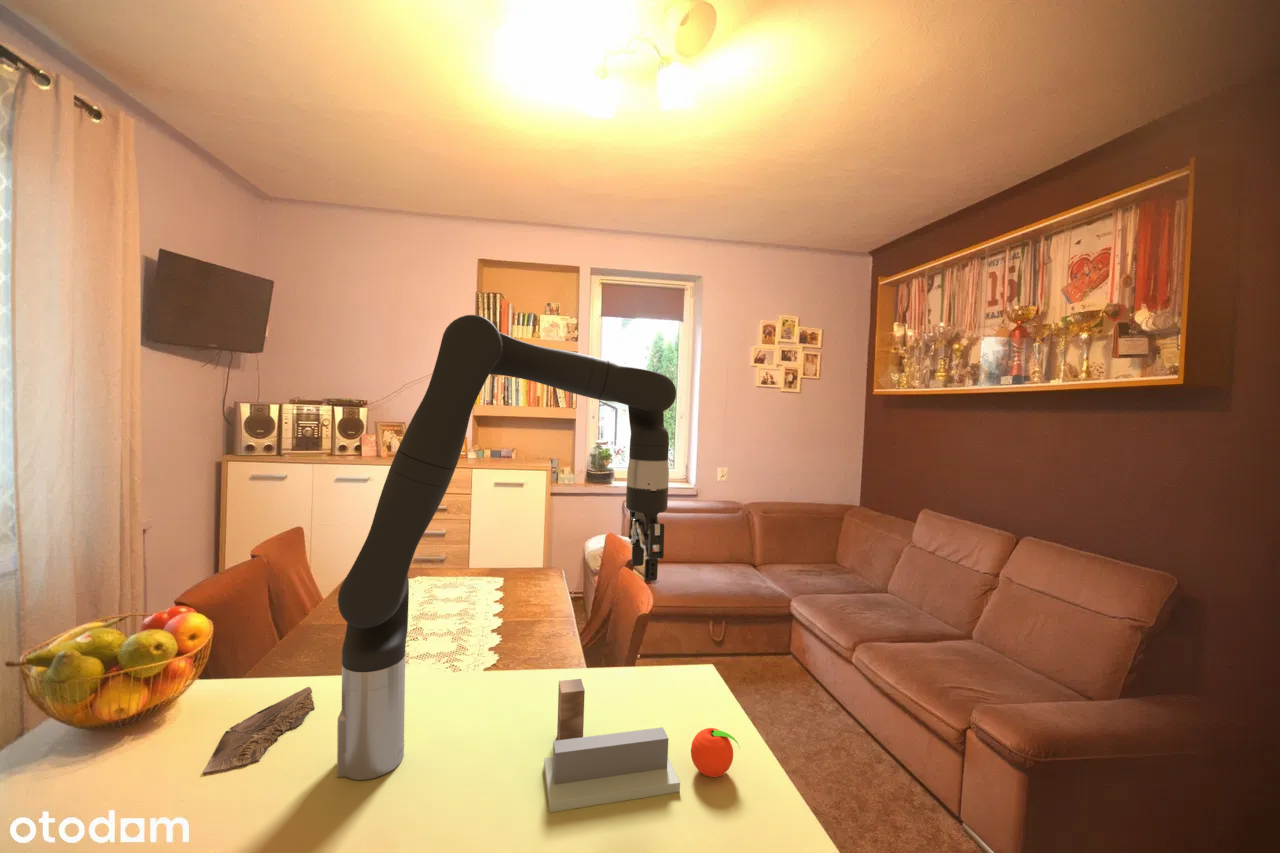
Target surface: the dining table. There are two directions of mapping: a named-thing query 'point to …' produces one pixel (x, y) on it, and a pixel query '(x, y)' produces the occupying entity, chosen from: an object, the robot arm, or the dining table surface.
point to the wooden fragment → (259, 732)
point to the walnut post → (570, 709)
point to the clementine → (712, 752)
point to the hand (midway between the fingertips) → (643, 572)
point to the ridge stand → (609, 769)
